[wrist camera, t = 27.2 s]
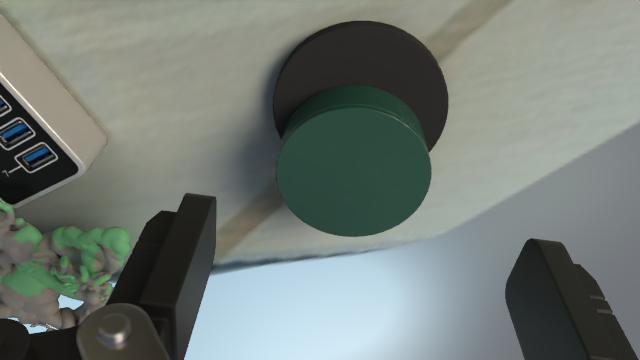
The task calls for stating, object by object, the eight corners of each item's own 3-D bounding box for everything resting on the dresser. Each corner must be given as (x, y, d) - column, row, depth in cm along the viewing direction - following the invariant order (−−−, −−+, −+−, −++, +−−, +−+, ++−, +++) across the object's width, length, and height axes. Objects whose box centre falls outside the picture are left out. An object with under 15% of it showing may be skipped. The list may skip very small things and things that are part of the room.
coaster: (239, 98, 21) (236, 104, 20) (371, -21, 18) (372, -17, 17) (350, 201, 23) (350, 209, 23) (480, 113, 20) (483, 119, 20)
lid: (378, 226, 23) (380, 257, 22) (259, 176, 22) (251, 205, 20) (453, 123, 20) (463, 149, 18) (320, 58, 19) (317, 80, 17)
